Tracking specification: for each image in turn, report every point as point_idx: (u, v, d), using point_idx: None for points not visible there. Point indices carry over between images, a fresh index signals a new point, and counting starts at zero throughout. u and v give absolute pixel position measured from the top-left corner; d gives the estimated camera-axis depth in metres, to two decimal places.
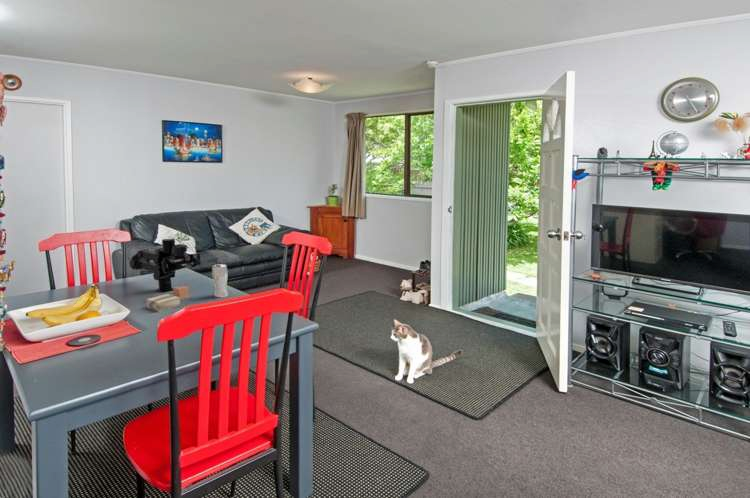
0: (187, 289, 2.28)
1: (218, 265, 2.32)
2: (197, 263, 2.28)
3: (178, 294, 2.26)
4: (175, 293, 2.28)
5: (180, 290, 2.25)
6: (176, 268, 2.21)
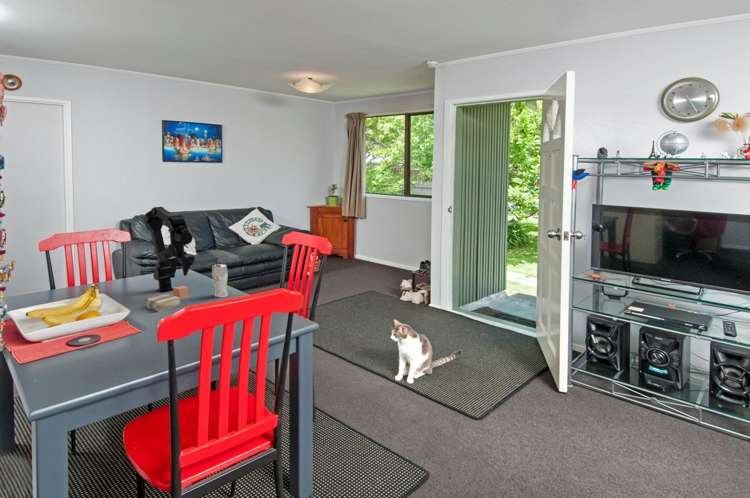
0: (187, 289, 2.28)
1: (218, 265, 2.32)
2: None
3: (178, 294, 2.26)
4: (174, 293, 2.28)
5: (180, 290, 2.25)
6: None
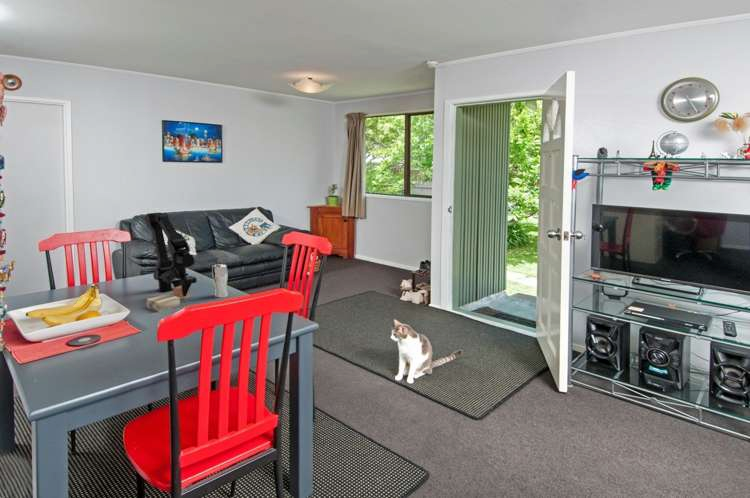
0: None
1: (218, 265, 2.32)
2: None
3: (178, 294, 2.26)
4: (174, 293, 2.28)
5: (180, 290, 2.25)
6: None
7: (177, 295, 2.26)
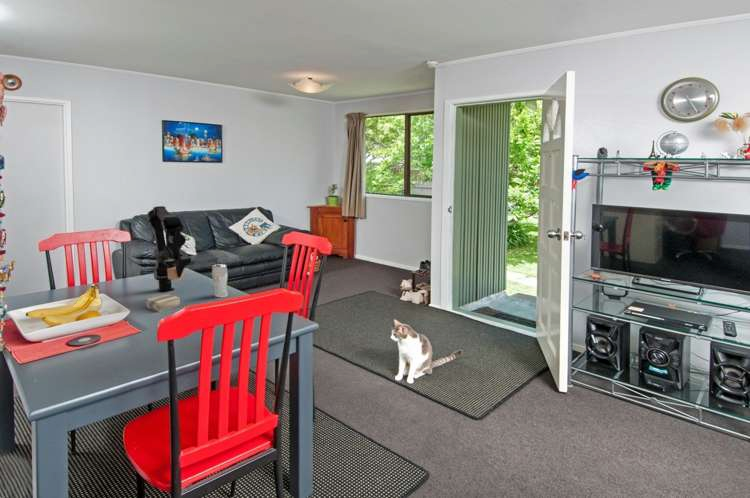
0: None
1: (218, 265, 2.32)
2: None
3: (172, 275, 2.20)
4: (169, 274, 2.22)
5: (174, 271, 2.20)
6: None
7: (171, 276, 2.21)
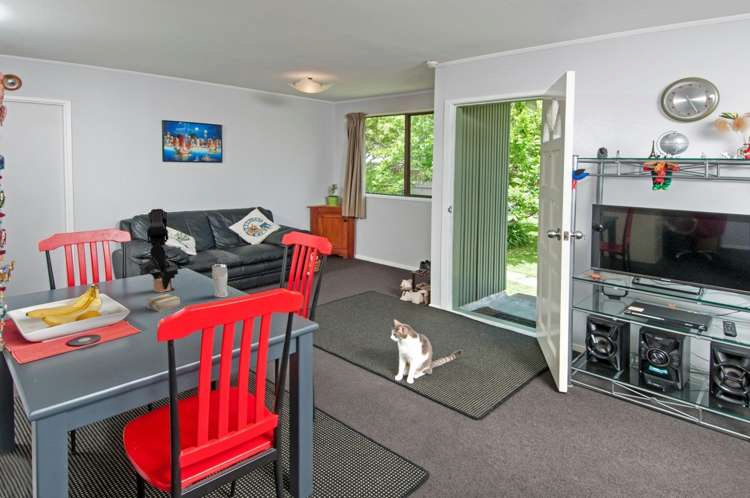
0: None
1: (218, 265, 2.31)
2: None
3: (158, 286, 2.10)
4: (155, 286, 2.12)
5: (160, 282, 2.10)
6: None
7: (157, 288, 2.11)
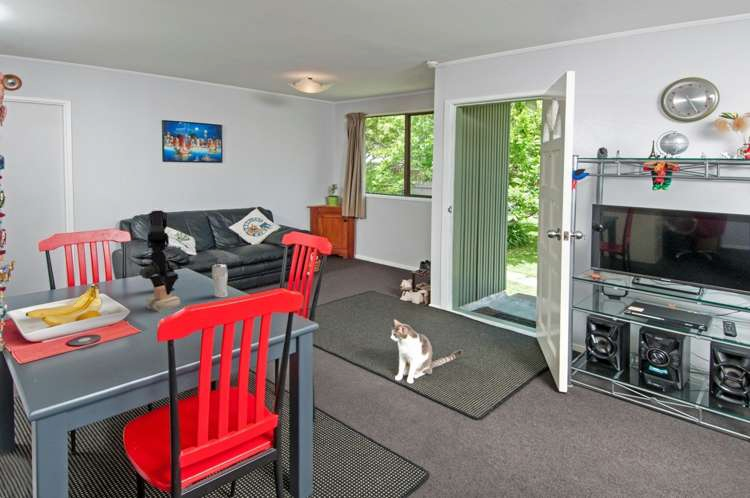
0: None
1: (218, 265, 2.32)
2: None
3: (159, 294, 2.11)
4: (155, 293, 2.13)
5: (161, 290, 2.10)
6: None
7: (158, 296, 2.11)
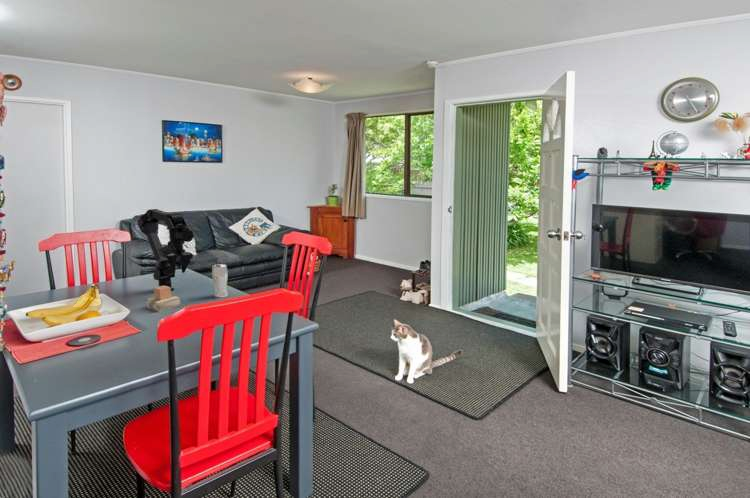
0: (169, 289, 2.13)
1: (218, 265, 2.32)
2: None
3: (159, 294, 2.11)
4: (155, 293, 2.13)
5: (161, 290, 2.10)
6: None
7: (158, 296, 2.11)
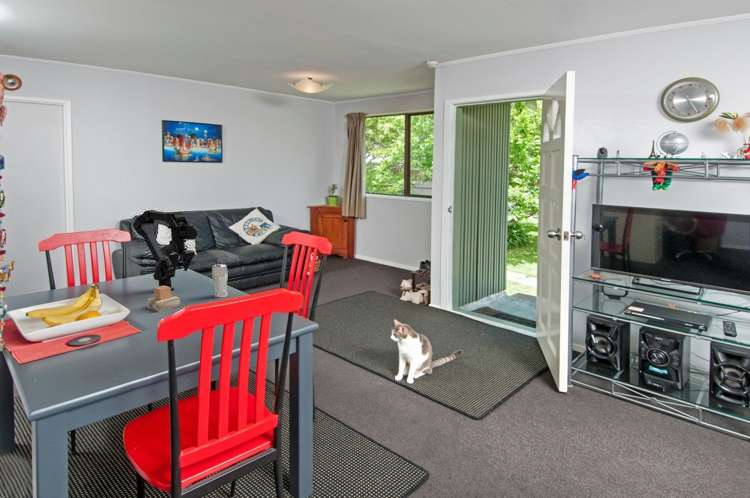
0: (169, 289, 2.13)
1: (218, 265, 2.32)
2: None
3: (159, 294, 2.11)
4: (155, 293, 2.13)
5: (161, 290, 2.10)
6: None
7: (158, 296, 2.11)
